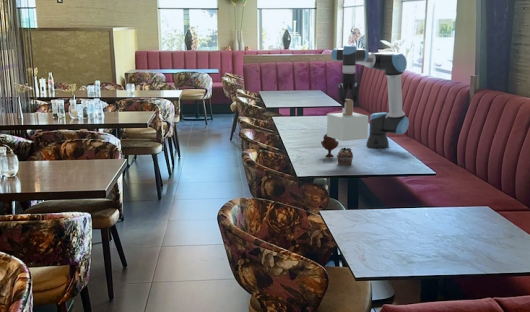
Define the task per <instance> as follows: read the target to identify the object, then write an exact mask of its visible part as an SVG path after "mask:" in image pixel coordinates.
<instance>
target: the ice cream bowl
mask: <svg viewBox="0 0 530 312" xmlns="http://www.w3.org/2000/svg"><path fill="white" fill-rule="evenodd" d="M339 142H340V141H339V140H337V139H334V138H331V137H328V136H327V133H325V134H324V135H323V140H321V142H320V144H321V146H322V147H323V148H324V149H325V150H326V151H328V152H327V153H328V154H325V156H324V157H325V158H330V157H331V158H334V157H335V155H333V154H332V151H333V150H335V149H336V148H337V147H338V146H339Z"/></svg>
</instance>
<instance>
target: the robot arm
mask: <svg viewBox="0 0 530 312" xmlns="http://www.w3.org/2000/svg"><path fill="white" fill-rule="evenodd" d="M330 56H331V59H332V60H333V61H336V62H342V71H341V72H342V75H341V79H342V80H341V82H340V84H339V83H337V87H338V88H337V89H338V102H341V108H342V111H341V113H344V114H346V102H345V100H346V99H347V95H348V92H349V97H350V98H349V99H352V100H353V108H354V107H355V103H356V101H358V94H359V86H360V84H359V83H357V82H356V71H357V70H356V69H357V67H356V66H357V65H362V66H364V67H366V68H370V69H373V70H376V71H380V72H381V71H383V72H384V75H385V77H387V79H386V80H387V93H388V94H387V97H388V112H385V111H383V112H375V113H371V114H370V115H369V116H370V117H369V131H368V133H369V135H368V137H367V139H366V143H365V144H366V147H368V148H373V149H386V148H389V146H390V143H389V140H388V134H387V133H389V134H396V135H403V134H405V133H406V132H407V131H408V129H409V126H410V120H409V118H408V117H407V116H406V113H405V112H404V111H403V95H402V93H403V91H402V76H403V74H404V72H405V70H406V69H407V64H408V63H407V58H406V56H405V55H404V53H400V52H368V49H366V48H357V46H356V45H344V46H343V48H341V47H336V48H333V49H332V50H331V54H330ZM353 112H354V111H353ZM353 112H352V113H353Z"/></svg>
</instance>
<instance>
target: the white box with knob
mask: <svg viewBox="0 0 530 312" xmlns="http://www.w3.org/2000/svg"><path fill="white" fill-rule="evenodd" d="M345 102H346V114H344V113H342V112H332V113H327V114H326V115H327V116H326V121H327V123H326V124H327V125H326V134H327V136H328V137H331V138H334V139H336V141H339V142H340V141H341V142H347V141H350V142H351V141H357V140H358V141H359V140H368V137H369V135H368V133H369V115H365V114H362V113H358V112H354V107H353V100H352V99H350V98H346V100H345ZM352 112H353V113H352Z"/></svg>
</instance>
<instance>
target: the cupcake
mask: <svg viewBox="0 0 530 312" xmlns="http://www.w3.org/2000/svg"><path fill="white" fill-rule="evenodd" d="M353 158H354V154H353V152H352V148H348V147H347V148H346V147H342V148H340V149H339V151H338V153H337V155H336V160H337V164H338V165H339V166H343V165H344V166H343V167H345V166H351V165H352V163H353Z"/></svg>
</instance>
